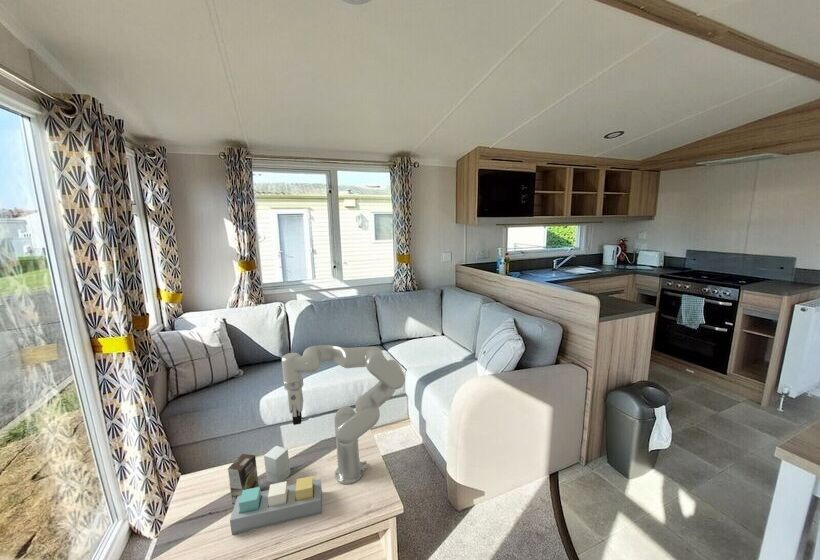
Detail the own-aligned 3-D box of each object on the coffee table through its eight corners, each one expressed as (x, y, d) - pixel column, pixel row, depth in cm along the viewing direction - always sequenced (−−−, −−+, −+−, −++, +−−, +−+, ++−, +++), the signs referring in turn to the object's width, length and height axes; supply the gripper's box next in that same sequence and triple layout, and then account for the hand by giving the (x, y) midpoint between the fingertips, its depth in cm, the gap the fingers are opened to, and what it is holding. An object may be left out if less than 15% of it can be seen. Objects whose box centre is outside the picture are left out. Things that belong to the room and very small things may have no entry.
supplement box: (291, 473, 149) (288, 449, 146) (278, 485, 142) (275, 459, 140) (279, 469, 152) (276, 444, 149) (266, 480, 145) (263, 455, 143)
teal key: (261, 502, 130) (259, 486, 128) (258, 515, 124) (256, 499, 122) (244, 505, 128) (242, 490, 127) (241, 519, 122) (238, 503, 121)
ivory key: (288, 496, 132) (286, 481, 131) (286, 509, 126) (285, 493, 125) (272, 499, 130) (270, 484, 129) (269, 512, 125) (267, 497, 123)
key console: (321, 491, 138) (320, 478, 137) (321, 513, 127) (320, 500, 126) (239, 509, 130) (237, 496, 129) (231, 534, 120) (229, 520, 119)
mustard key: (314, 490, 134) (312, 475, 133) (313, 503, 128) (312, 487, 127) (298, 494, 133) (296, 479, 132) (297, 506, 127) (295, 491, 126)
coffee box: (245, 505, 132) (240, 470, 129) (231, 503, 133) (226, 468, 131) (259, 487, 141) (255, 454, 138) (246, 485, 142) (242, 452, 139)
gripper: (301, 390, 128) (305, 432, 131) (304, 373, 143) (307, 412, 146) (281, 393, 126) (286, 435, 130) (286, 376, 141) (289, 414, 144)
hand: (297, 423), depth 138 cm, fingers closed
